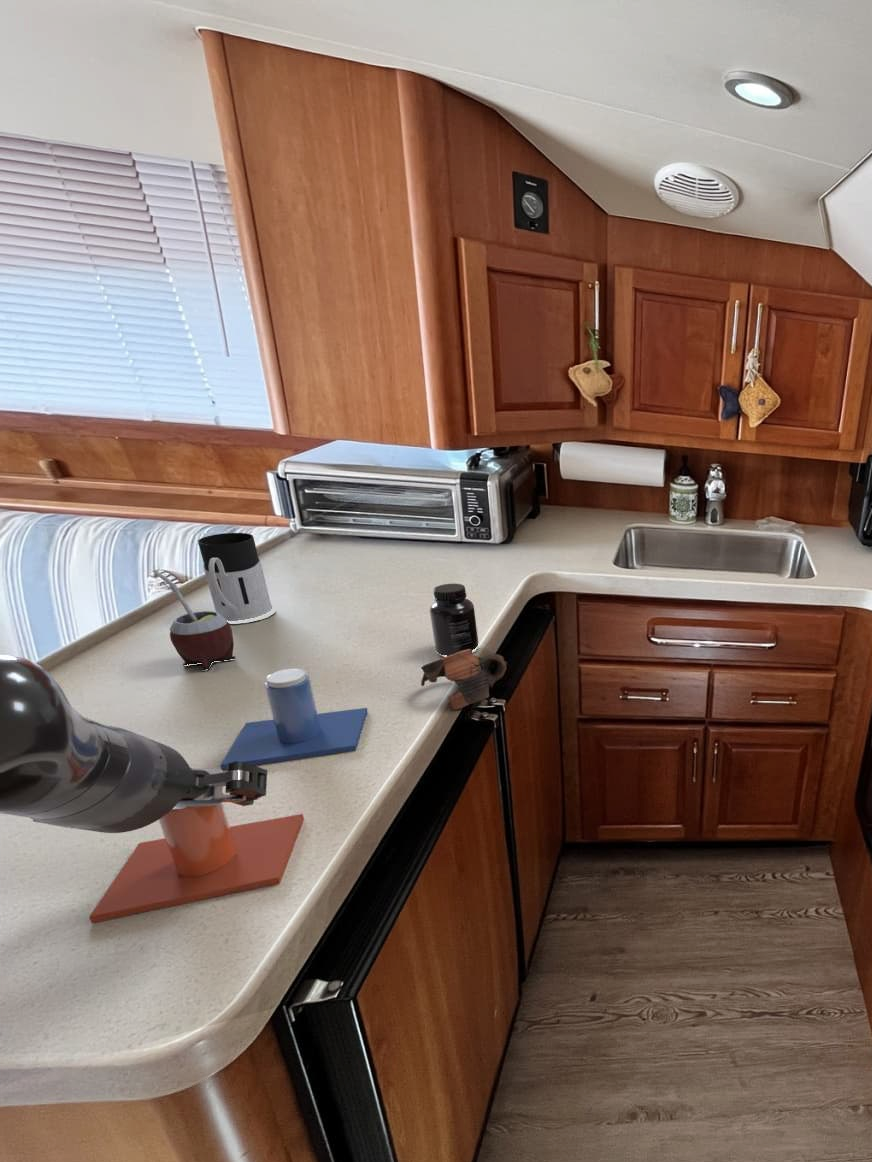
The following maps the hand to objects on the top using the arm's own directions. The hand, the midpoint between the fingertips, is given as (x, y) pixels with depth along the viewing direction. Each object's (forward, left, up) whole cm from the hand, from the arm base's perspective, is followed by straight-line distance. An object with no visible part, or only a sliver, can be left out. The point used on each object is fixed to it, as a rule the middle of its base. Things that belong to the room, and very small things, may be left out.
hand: (196, 803), depth 64 cm
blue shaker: (+3, +22, -6) cm, 23 cm away
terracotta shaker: (0, -1, -6) cm, 6 cm away
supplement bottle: (+21, +45, -7) cm, 50 cm away
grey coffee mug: (-15, +67, -7) cm, 69 cm away
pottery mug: (+23, +29, -7) cm, 37 cm away
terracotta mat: (0, -1, -7) cm, 7 cm away
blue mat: (+3, +22, -7) cm, 23 cm away
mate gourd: (-15, +50, -7) cm, 52 cm away
